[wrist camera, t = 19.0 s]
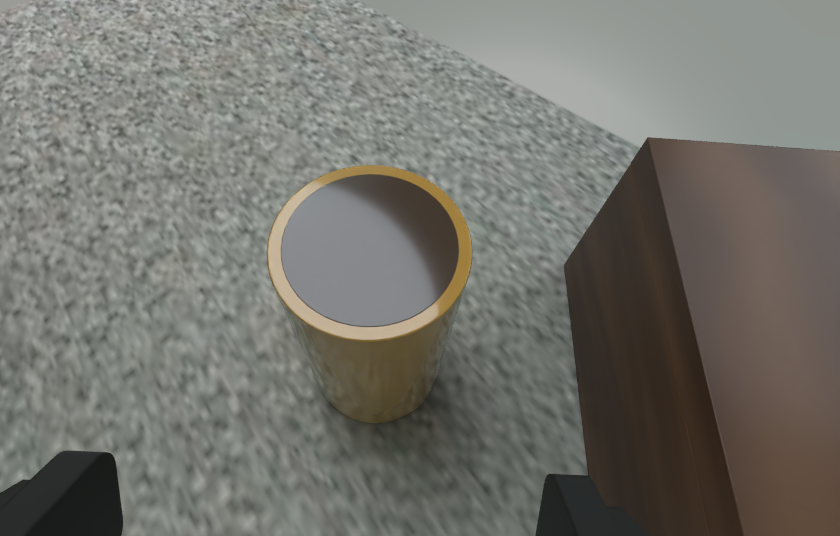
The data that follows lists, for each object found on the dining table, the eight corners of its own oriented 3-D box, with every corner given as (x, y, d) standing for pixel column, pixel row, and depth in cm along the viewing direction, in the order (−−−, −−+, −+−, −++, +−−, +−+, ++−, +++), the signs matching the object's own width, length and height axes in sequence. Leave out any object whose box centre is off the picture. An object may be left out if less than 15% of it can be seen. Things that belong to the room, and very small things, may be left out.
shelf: (597, 556, 21) (752, 571, 12) (563, 264, 27) (647, 136, 19) (828, 565, 21) (1143, 588, 12) (739, 275, 28) (902, 155, 19)
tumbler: (306, 419, 23) (246, 333, 13) (323, 300, 25) (285, 157, 16) (436, 426, 23) (473, 348, 13) (439, 307, 26) (471, 171, 16)
